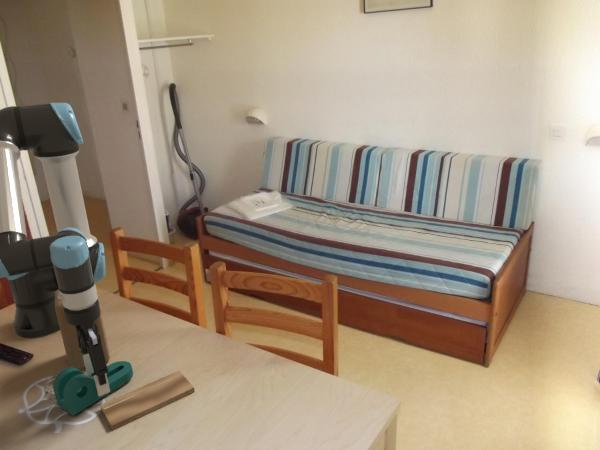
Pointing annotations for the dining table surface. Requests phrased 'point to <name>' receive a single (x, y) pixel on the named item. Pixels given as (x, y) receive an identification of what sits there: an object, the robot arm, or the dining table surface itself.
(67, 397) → the bracket
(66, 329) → the block
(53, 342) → the dining table surface
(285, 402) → the dining table surface
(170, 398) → the plank
